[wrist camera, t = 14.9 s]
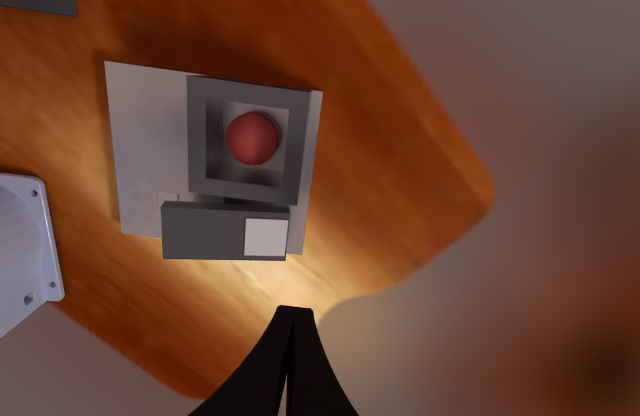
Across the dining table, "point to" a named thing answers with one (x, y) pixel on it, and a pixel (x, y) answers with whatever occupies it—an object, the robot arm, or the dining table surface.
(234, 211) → the block
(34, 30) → the dining table surface
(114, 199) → the dining table surface
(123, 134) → the panel
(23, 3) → the pad
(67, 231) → the dining table surface
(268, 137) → the button
